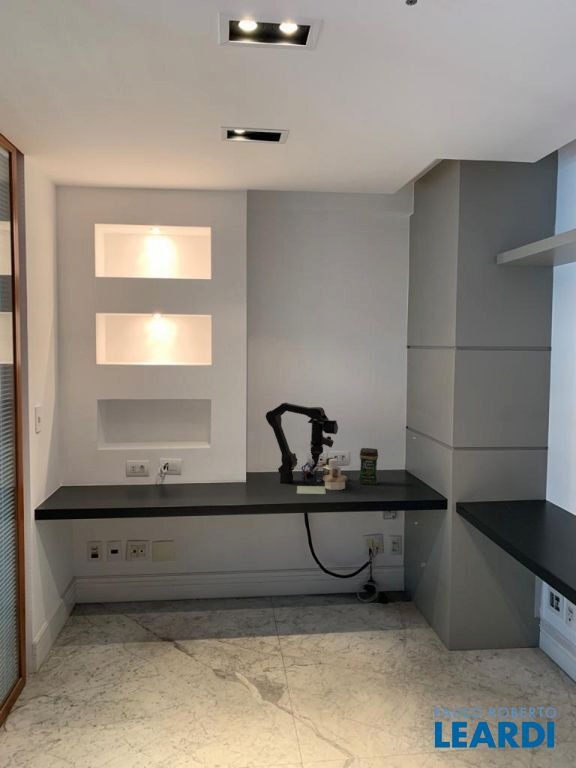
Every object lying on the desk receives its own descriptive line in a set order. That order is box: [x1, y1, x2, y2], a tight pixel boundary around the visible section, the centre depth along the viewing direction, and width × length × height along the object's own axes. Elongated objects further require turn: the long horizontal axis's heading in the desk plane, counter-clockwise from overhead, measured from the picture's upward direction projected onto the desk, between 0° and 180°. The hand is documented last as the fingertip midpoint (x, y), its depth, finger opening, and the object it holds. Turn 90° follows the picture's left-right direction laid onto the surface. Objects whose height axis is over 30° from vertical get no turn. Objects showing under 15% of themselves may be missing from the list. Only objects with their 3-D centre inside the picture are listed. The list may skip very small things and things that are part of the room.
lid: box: [322, 469, 348, 482], centre depth 292 cm, size 12×12×5 cm
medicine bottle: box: [322, 457, 342, 477], centre depth 308 cm, size 7×7×12 cm
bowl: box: [324, 481, 346, 491], centre depth 292 cm, size 10×10×4 cm
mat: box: [296, 485, 327, 495], centre depth 287 cm, size 14×14×1 cm
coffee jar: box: [358, 447, 379, 486], centre depth 302 cm, size 10×8×19 cm
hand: (316, 462), depth 295 cm, fingers open, 9 cm apart
